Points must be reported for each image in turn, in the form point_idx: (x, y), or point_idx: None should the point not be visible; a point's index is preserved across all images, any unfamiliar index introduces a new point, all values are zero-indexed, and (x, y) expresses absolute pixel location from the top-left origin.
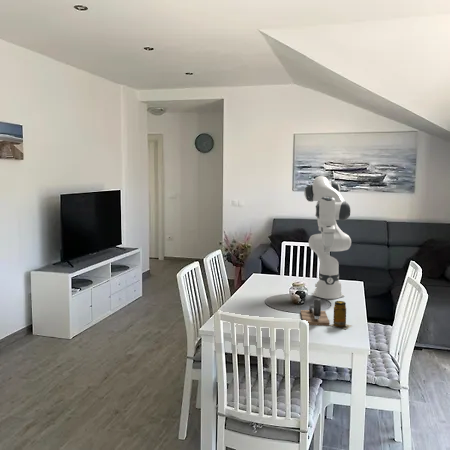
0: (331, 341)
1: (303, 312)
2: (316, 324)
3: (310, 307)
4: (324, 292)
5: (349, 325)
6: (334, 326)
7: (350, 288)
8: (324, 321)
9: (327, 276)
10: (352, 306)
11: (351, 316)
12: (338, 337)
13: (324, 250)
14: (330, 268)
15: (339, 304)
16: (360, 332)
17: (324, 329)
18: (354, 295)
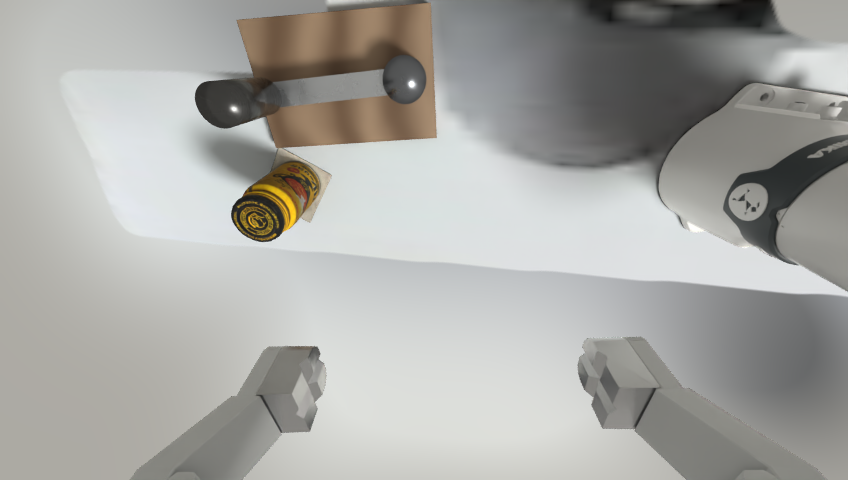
0: (114, 142)
1: (388, 21)
2: None
3: (389, 62)
4: (705, 150)
5: (307, 214)
6: (276, 163)
7: None
8: (282, 127)
9: (783, 196)
10: (541, 245)
11: (415, 230)
12: (169, 169)
13: (600, 359)
14: (838, 240)
15: (232, 214)
16: None
17: None
18: (696, 266)
